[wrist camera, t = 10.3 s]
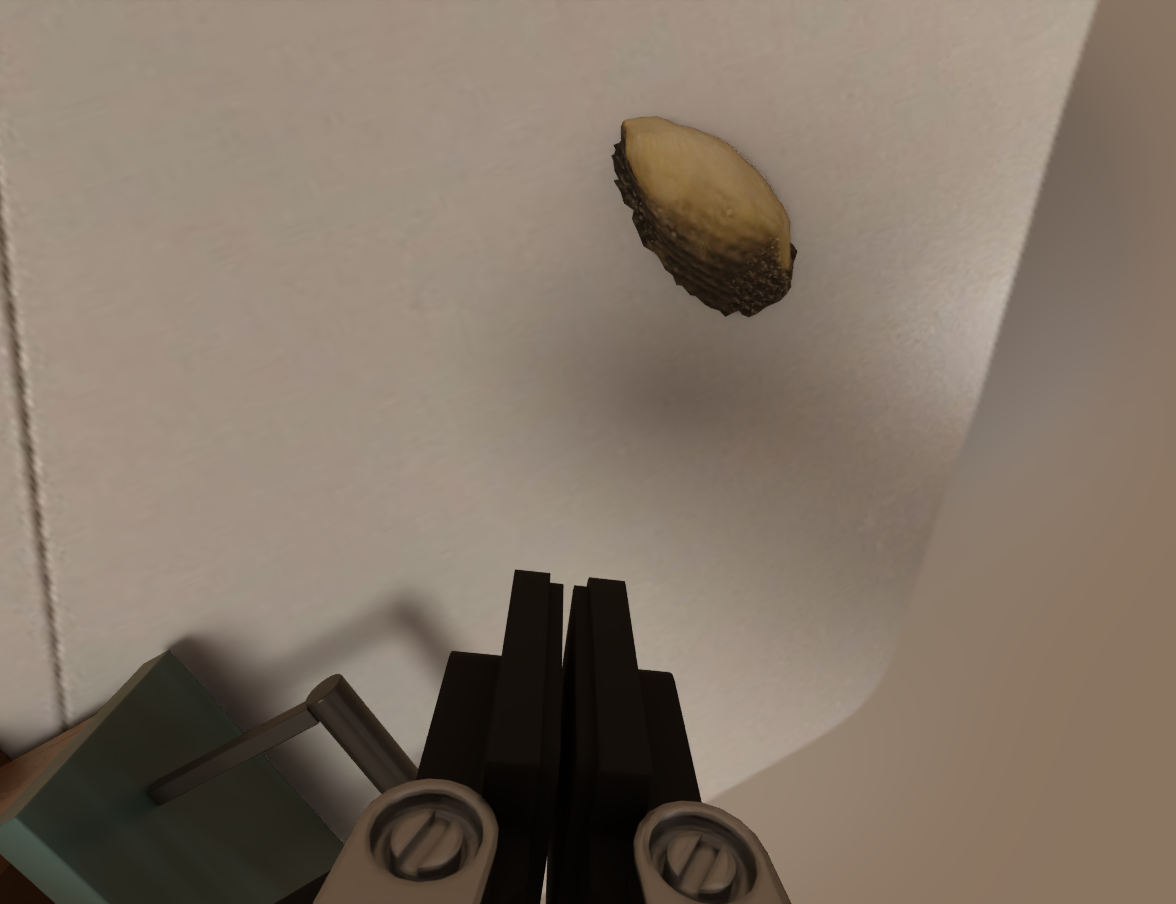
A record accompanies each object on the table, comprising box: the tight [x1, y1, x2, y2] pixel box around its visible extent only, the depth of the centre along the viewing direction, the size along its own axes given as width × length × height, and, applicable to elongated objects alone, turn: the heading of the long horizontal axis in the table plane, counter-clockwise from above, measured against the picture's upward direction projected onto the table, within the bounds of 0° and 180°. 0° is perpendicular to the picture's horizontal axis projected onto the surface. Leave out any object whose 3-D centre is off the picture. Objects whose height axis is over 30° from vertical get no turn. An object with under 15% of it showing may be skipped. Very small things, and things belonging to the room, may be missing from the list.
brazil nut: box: [611, 117, 797, 317], centre depth 21 cm, size 6×5×3 cm
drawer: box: [0, 650, 418, 904], centre depth 23 cm, size 21×11×7 cm, turn 120°
